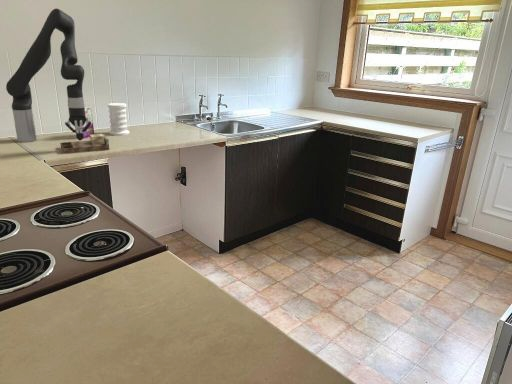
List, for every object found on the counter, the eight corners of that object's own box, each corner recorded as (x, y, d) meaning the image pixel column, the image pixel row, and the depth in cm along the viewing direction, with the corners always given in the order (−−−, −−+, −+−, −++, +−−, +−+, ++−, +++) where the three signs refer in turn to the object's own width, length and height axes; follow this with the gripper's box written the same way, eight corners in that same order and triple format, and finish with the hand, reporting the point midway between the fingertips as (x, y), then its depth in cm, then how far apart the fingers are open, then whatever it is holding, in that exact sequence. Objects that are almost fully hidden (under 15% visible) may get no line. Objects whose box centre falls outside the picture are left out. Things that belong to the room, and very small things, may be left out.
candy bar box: (87, 134, 236) (84, 107, 231) (94, 135, 235) (91, 107, 230) (75, 138, 226) (72, 109, 220) (83, 138, 225) (80, 110, 219)
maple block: (92, 144, 203) (91, 137, 202) (90, 142, 208) (89, 134, 207) (104, 143, 206) (103, 136, 205) (102, 141, 211) (101, 133, 210)
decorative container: (121, 130, 249) (119, 102, 243) (133, 133, 243) (131, 104, 237) (105, 133, 240) (102, 103, 234) (117, 136, 234) (114, 106, 228)
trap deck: (63, 153, 194) (61, 142, 192) (60, 147, 205) (59, 137, 203) (109, 149, 205) (108, 139, 203) (104, 143, 216) (103, 134, 214)
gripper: (62, 107, 190) (66, 142, 196) (91, 107, 196) (94, 140, 202) (61, 105, 196) (65, 139, 202) (89, 105, 202) (92, 137, 208)
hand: (80, 140), depth 202 cm, fingers closed
